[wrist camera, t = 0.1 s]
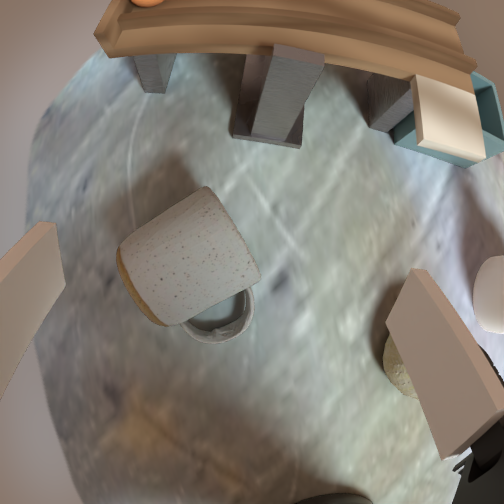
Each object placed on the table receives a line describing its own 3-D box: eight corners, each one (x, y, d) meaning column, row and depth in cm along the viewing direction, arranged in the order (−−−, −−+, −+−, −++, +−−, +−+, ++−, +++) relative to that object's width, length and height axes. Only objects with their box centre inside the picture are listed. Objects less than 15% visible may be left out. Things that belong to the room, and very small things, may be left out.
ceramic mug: (125, 250, 26) (94, 241, 18) (208, 198, 27) (207, 170, 19) (193, 358, 26) (187, 390, 18) (276, 306, 27) (301, 319, 19)
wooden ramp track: (477, 162, 17) (503, 147, 14) (87, 116, 18) (66, 95, 15) (443, 14, 18) (456, -6, 15) (148, -21, 19) (139, -43, 16)
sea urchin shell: (464, 291, 27) (497, 356, 21) (428, 339, 32) (451, 399, 26) (392, 291, 26) (423, 370, 20) (360, 343, 31) (378, 413, 25)
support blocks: (387, 168, 29) (465, 118, 17) (134, 128, 26) (95, 47, 15) (380, 60, 30) (431, -4, 18) (169, 22, 28) (160, -61, 16)
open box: (465, 168, 30) (508, 148, 23) (394, 144, 29) (435, 113, 22) (457, 109, 31) (494, 83, 24) (389, 81, 30) (422, 45, 23)
